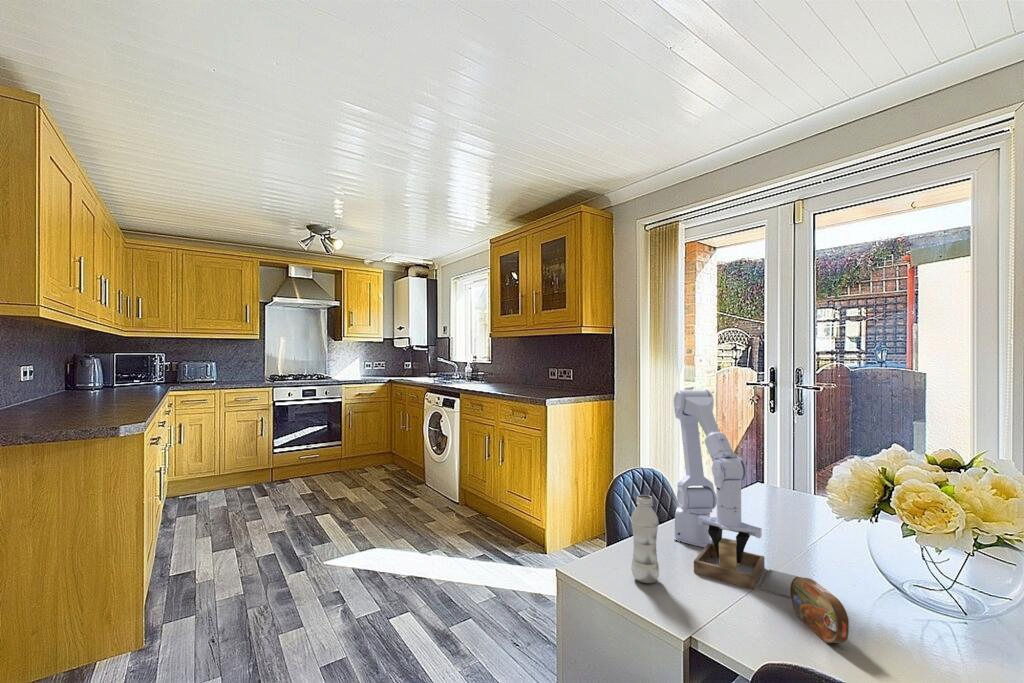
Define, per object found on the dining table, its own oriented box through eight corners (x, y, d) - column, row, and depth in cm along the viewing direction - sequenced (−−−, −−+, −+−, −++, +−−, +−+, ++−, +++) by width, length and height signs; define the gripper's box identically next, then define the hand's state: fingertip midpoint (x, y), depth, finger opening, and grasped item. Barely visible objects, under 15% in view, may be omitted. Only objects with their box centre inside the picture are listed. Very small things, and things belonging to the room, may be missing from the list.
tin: (789, 608, 100) (788, 569, 100) (803, 608, 100) (803, 569, 100) (835, 653, 85) (834, 607, 85) (853, 654, 85) (852, 607, 85)
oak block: (719, 566, 117) (718, 542, 117) (723, 560, 120) (722, 537, 120) (736, 571, 114) (735, 546, 115) (739, 565, 118) (739, 541, 118)
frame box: (693, 572, 116) (693, 560, 116) (708, 554, 127) (708, 543, 127) (754, 589, 108) (753, 576, 108) (764, 568, 118) (764, 556, 118)
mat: (760, 589, 108) (760, 588, 108) (769, 570, 117) (769, 569, 117) (800, 601, 103) (800, 599, 103) (806, 580, 112) (806, 578, 112)
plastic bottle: (645, 589, 108) (644, 503, 108) (625, 577, 114) (625, 495, 114) (665, 583, 111) (664, 499, 111) (645, 571, 117) (644, 491, 117)
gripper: (694, 503, 119) (695, 556, 119) (757, 515, 110) (758, 573, 110) (702, 496, 124) (702, 547, 124) (763, 507, 116) (763, 562, 115)
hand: (729, 559), depth 117 cm, fingers closed on oak block, 4 cm apart
